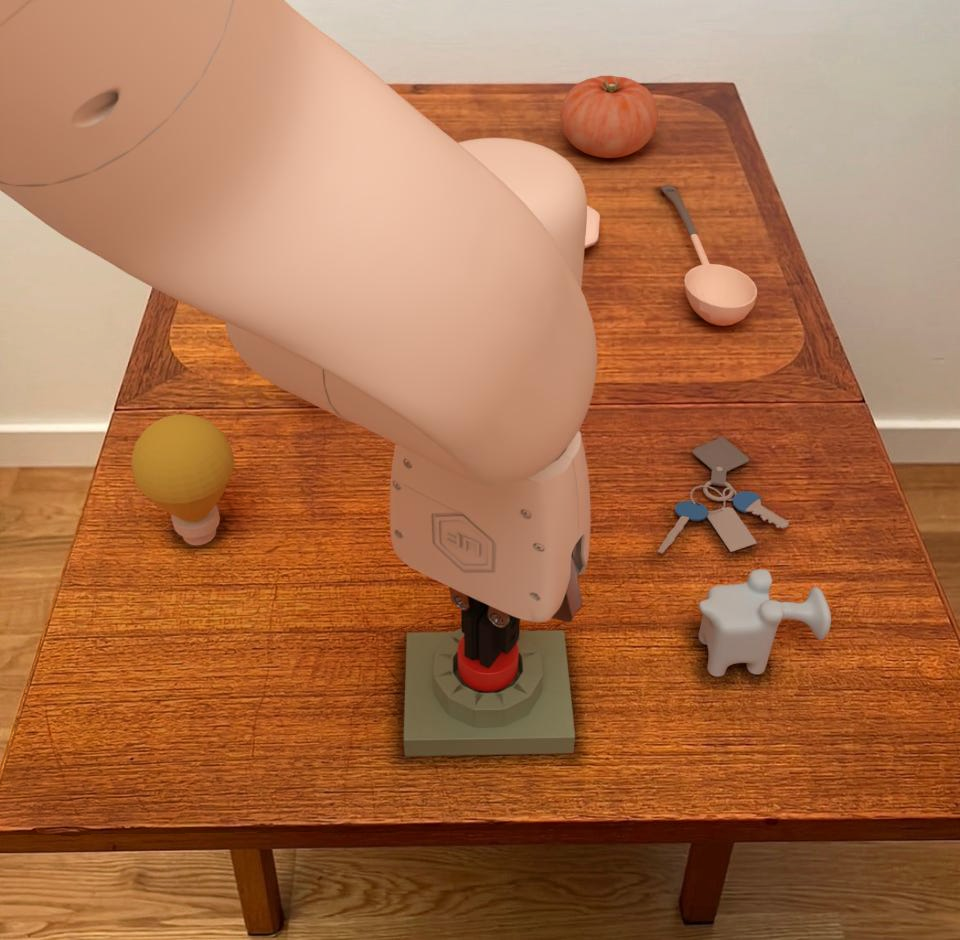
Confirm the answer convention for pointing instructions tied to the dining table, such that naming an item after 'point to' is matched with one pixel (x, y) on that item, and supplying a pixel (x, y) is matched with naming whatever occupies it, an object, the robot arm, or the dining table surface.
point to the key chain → (723, 499)
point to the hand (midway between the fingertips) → (490, 646)
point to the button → (488, 670)
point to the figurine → (753, 622)
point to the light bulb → (184, 472)
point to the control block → (487, 700)
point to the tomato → (609, 116)
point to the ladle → (713, 280)
